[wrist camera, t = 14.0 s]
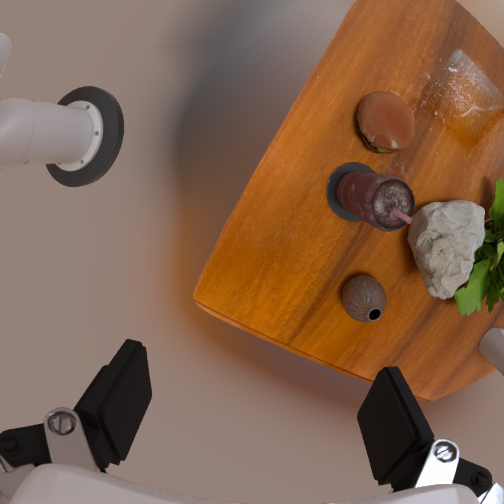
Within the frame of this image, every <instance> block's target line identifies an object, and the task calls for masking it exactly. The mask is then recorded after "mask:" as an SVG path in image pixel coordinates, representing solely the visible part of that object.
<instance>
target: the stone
mask: <svg viewBox="0 0 504 504" xmlns="http://www.w3.org/2000/svg"><path fill="white" fill-rule="evenodd" d="M484 215H485V210H484V208H482V207H481V206H478V205H476V204H475V203H474V202H469V201H466V200H464V201H462V200H458V201H450V202H444V203H442V202H433V203H431V204H428V205H426V206H423V207H422V208H421V209H420V210H419V211H418V212H417V213H416V214H415V215H414V216H413V217H412V222H411V225H410V227H409V232H408V233H409V235H408V237H407V241H408V243H409V244H410V248H411V249H412V252H413V256H414V259H415V262H416V265H417V266H418V268H419V269H420V270H421V272H422V274H423V276H422V278H423V283H424V285H425V287H427V291H428V292H429V293H430V294H431V295H432V296H435V297H436V296H438V298H440V299H446V298H451V297H452V296H453V295H454V294H455V291H456V289H457V288H458V287H459V286H460V285H461V284H463V283H465V282H466V281H467V280H468V279H469V275H470V272H471V270H472V268H473V263H474V261H475V259H474V252H475V251H476V250H477V249H478V248H479V247H481V246H482V244H483V240H484V237H485V231H484Z"/></svg>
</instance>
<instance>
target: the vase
mask: <svg viewBox="0 0 504 504" xmlns="http://www.w3.org/2000/svg"><path fill="white" fill-rule="evenodd" d="M342 302H343V306H344V308H345V310H346V312H347V313H348V315H349V316H350V317H352V318H353V319H355V320H357V321H359V322H376V321H378V320H379V319H380V318H381V316H382V313H383V311H384V309H385V306H386V294H385V291H384V288H383V287H382V285H381V284H380V283H379V282H378V281H377V280H376V279H374V278H372V277H370V276H366V275H361V276H356V277H354V278H352V279H351V280H350V281H349V282H348V283H347V284H346V285H345V287H344V290H343V294H342Z"/></svg>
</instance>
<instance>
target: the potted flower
mask: <svg viewBox="0 0 504 504" xmlns="http://www.w3.org/2000/svg"><path fill="white" fill-rule="evenodd" d="M489 216H490V219H488V220H485V221H484V231H485V237H484V240H483V244H482V246H481V247H479V248H478V249H477V250H476V251H475V252H474V259H475V261H474V263H473V268H472V270H471V272H470V275H469V279H468V282H467V283H466V284H465V285H464V286H463V287H461V288H460V289H458V290H457V291H455V294H454V298H455V300H456V303H457V307H458V312H459V314H461V315H464V314H465V312H466V314H467V315H470V314H471V312H474V311H475V309H476V307H477V311H481V309H482V300H483V299H484V297H485V295H486V294H487V297H486V299H487V300H486V305H487V304H488V311H489V314H491V312H492V310H493V309H494V303H495V304H496V303H497V302H499V296H500V298H501V299H502V300H503V301H504V229H503V228H504V180H503V179H502V178H499V179H498V180H497V182H496V189H495V195H494V200H493V203H492V206H491V208H490V210H489Z"/></svg>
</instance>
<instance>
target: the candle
mask: <svg viewBox="0 0 504 504" xmlns="http://www.w3.org/2000/svg"><path fill="white" fill-rule="evenodd" d="M479 351H480V352H481V353H482V354H483V355H484V356H485V357H486V358H487V359H488V360H489V361H490V362H491V363H492V364H493V365H494V366H495V367H496V368H497V369H498V370H499V371H500V372H501V373H502V375H503V376H504V329H503V328H491V329H490V330H489V331H487V332H486V334H485V335H484V336H483V338H482V339H481V341H480V344H479Z"/></svg>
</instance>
